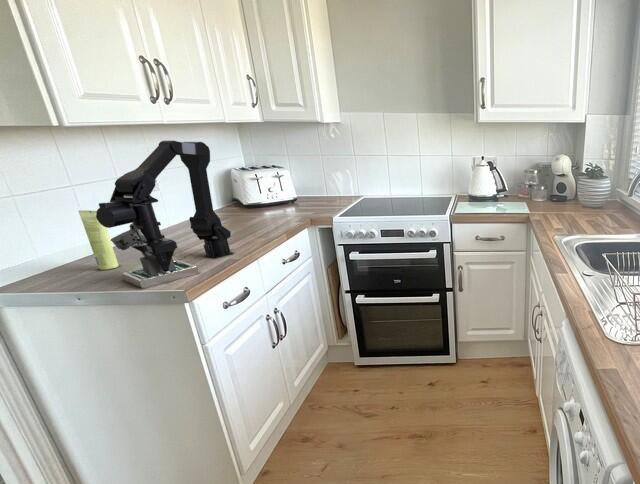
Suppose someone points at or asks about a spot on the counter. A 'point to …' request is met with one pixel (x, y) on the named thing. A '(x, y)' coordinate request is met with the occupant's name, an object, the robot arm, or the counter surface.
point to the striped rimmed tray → (159, 275)
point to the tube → (99, 240)
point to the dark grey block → (154, 265)
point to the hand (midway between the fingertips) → (159, 268)
